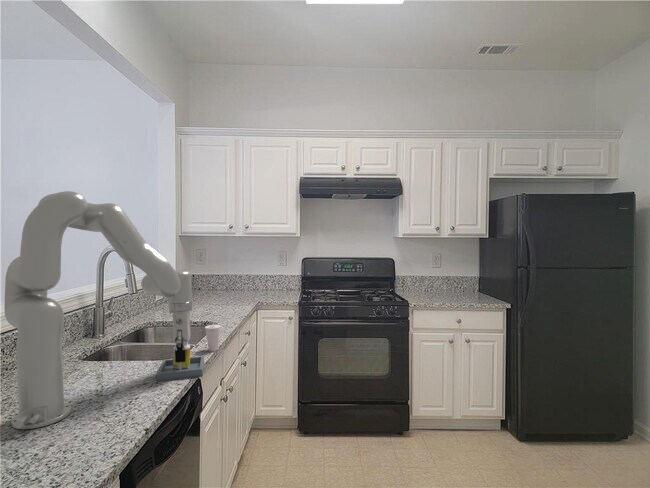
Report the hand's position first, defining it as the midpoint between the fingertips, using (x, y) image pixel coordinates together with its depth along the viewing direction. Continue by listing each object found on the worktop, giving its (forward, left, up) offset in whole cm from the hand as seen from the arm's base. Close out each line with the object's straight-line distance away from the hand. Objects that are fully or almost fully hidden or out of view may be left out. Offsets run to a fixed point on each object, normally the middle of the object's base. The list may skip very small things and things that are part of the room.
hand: (181, 357), depth 132 cm
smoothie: (+22, -10, -5) cm, 25 cm away
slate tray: (0, 0, -5) cm, 5 cm away
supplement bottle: (0, 0, -4) cm, 4 cm away
